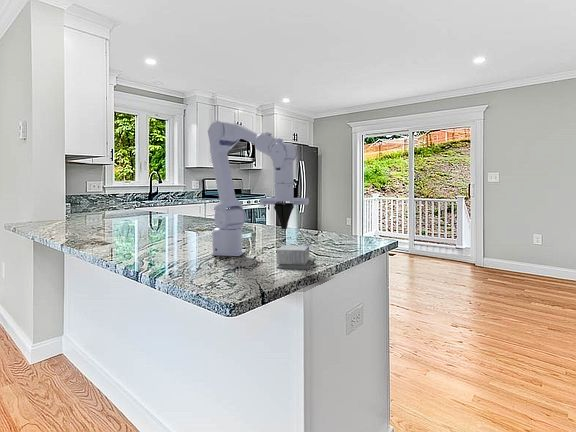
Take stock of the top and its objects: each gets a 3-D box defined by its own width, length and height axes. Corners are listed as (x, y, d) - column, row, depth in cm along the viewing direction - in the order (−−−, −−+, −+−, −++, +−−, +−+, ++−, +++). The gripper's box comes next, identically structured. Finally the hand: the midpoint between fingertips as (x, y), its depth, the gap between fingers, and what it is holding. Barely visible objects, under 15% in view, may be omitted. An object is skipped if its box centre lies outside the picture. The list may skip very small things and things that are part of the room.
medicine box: (276, 264, 108) (305, 265, 106) (276, 249, 107) (305, 250, 106) (282, 258, 115) (309, 259, 114) (282, 244, 115) (309, 245, 113)
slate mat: (276, 268, 105) (276, 266, 105) (287, 257, 118) (287, 256, 118) (308, 269, 103) (308, 268, 103) (314, 258, 116) (314, 257, 116)
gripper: (256, 183, 107) (257, 229, 109) (305, 183, 104) (305, 231, 105) (263, 183, 114) (263, 226, 115) (309, 183, 111) (309, 227, 112)
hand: (284, 228), depth 111 cm, fingers closed
